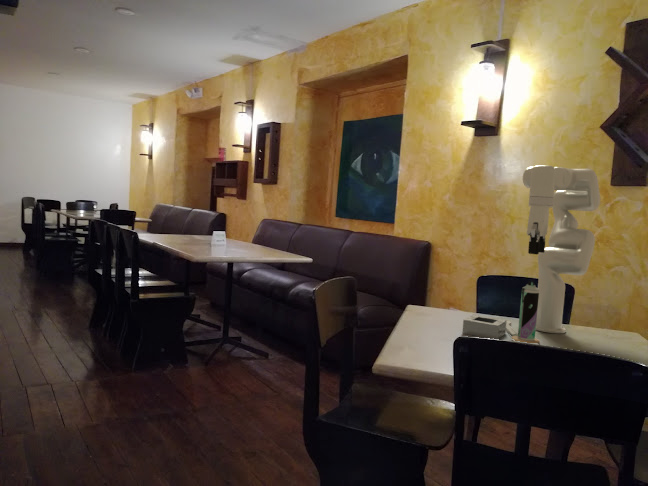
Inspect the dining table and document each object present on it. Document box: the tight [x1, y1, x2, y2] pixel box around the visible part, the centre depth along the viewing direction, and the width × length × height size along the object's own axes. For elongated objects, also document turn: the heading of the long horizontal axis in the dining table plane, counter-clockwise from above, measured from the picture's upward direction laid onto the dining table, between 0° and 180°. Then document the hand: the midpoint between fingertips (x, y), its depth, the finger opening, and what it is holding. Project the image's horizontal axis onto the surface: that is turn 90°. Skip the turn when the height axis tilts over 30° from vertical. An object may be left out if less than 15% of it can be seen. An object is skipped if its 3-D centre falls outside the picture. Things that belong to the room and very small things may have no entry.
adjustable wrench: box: [506, 320, 518, 337], centre depth 189 cm, size 25×6×2 cm, turn 168°
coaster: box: [511, 336, 541, 344], centre depth 173 cm, size 9×9×1 cm
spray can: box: [517, 281, 539, 341], centre depth 172 cm, size 6×6×20 cm
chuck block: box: [462, 314, 507, 340], centre depth 180 cm, size 12×12×5 cm
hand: (536, 253), depth 171 cm, fingers open, 9 cm apart
